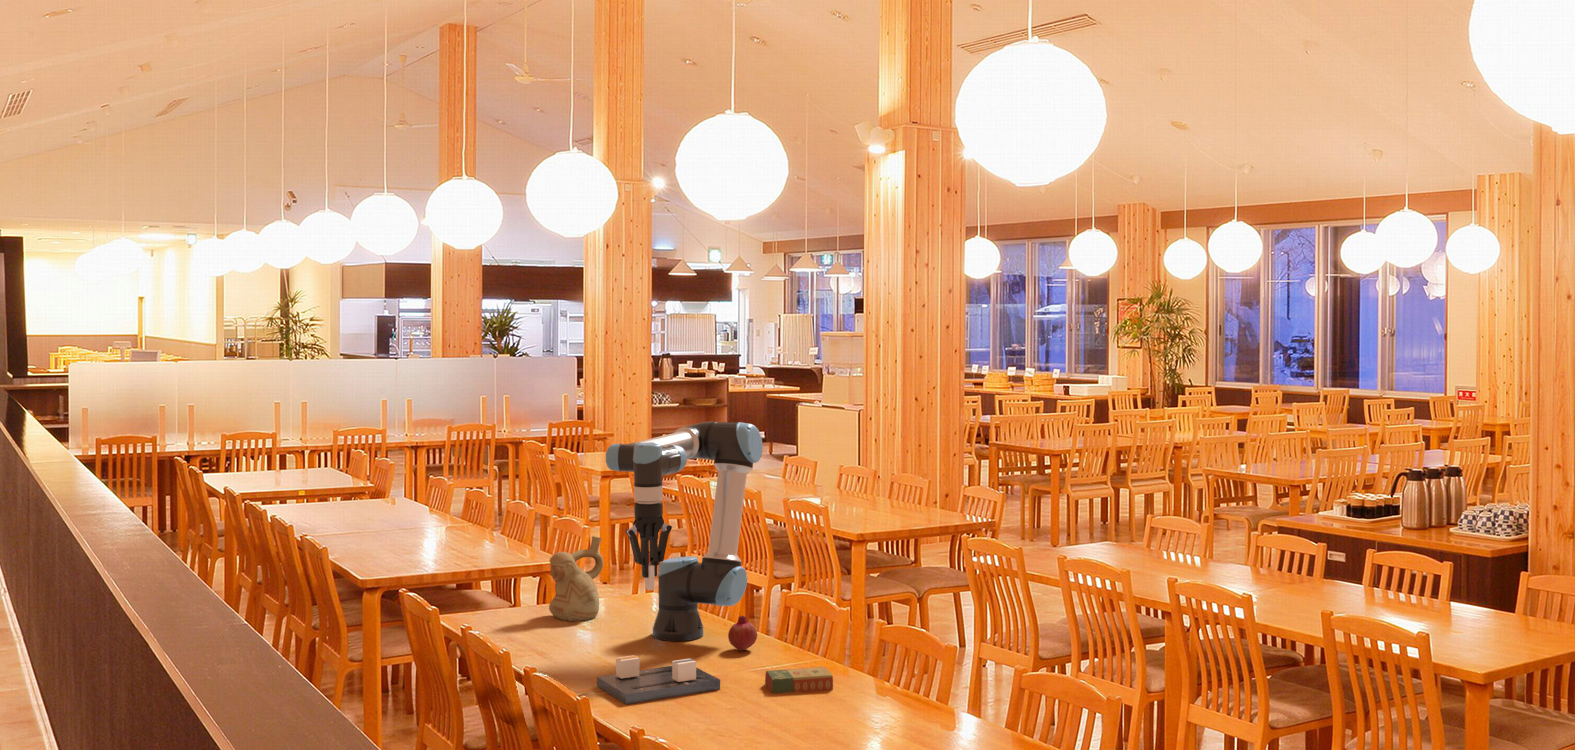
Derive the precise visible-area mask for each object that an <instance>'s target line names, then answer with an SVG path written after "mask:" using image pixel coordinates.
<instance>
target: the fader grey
mask: <svg viewBox="0 0 1575 750" xmlns="http://www.w3.org/2000/svg"><path fill="white" fill-rule="evenodd" d="M671 666H672V679H674V680H676V681H677V682H682V681H688V680H694V679H696V668H697V661H696V660H694V658H684V659H676V660H672V661H671Z"/></svg>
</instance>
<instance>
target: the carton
mask: <svg viewBox="0 0 1575 750" xmlns="http://www.w3.org/2000/svg"><path fill="white" fill-rule="evenodd" d="M764 675H765V677H764V685H765V687H766V688H767V689H768V690H769V691H770V693H772V694H783V693H784V694H786V693H799V692H800V693H802V692H816V691H817V692H819V691H833V690H834V676H833V674H832V673H831V672H830V671H829V670H828V668H826V667H825V666H816V667H805V668H802V667H801V668H790V669H789V668H787V669H777V670H776V669H775V670H772V669H771V670H765V674H764Z"/></svg>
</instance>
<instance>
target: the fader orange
mask: <svg viewBox="0 0 1575 750" xmlns="http://www.w3.org/2000/svg"><path fill="white" fill-rule="evenodd" d="M639 671H640V658H639V657H638V656H637V655H627V656H619V657H615V674H616V676H618V677H620V678H621V679H622V678H629V677H635V676H639Z"/></svg>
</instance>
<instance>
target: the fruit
mask: <svg viewBox="0 0 1575 750" xmlns="http://www.w3.org/2000/svg"><path fill="white" fill-rule="evenodd" d="M727 634H728V635H727V637H728V642H729V643H730V645H731V646H732V647H733V648H735V649H736V650H740V651H742V652H743V651H746V650H747V649H749V648H750V647H752V646H753V645H755V643H756V641H757V638H758V631H757V629H756V627H755V625H754V624H752V623H751V622H749V621H748V620H747V617H746V616H745V615H740V616H739V617H738V620H737V622H736V623H733V625H732V626H731V627H730V629H729V631H728V633H727Z"/></svg>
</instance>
